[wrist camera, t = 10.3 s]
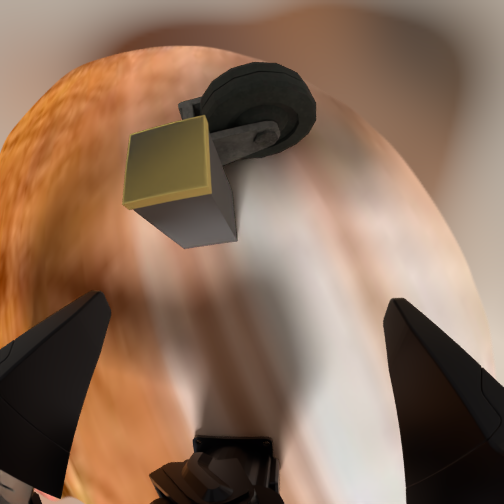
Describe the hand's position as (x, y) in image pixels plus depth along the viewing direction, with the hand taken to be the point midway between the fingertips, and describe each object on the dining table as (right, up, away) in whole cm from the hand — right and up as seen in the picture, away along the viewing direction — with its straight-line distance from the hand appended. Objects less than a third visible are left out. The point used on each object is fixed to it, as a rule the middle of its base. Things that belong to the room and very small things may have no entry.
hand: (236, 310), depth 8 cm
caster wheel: (-2, +11, +17) cm, 20 cm away
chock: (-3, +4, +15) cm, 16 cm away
